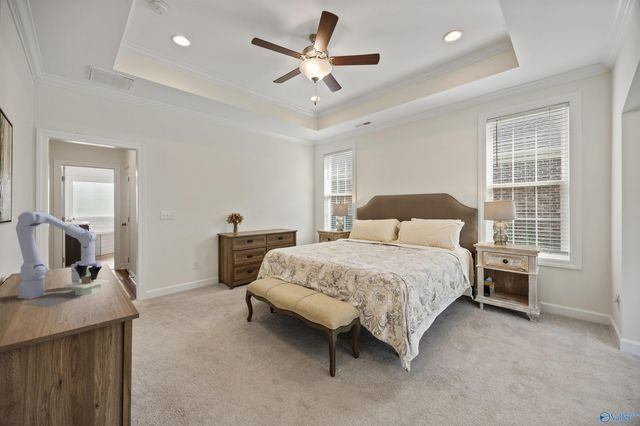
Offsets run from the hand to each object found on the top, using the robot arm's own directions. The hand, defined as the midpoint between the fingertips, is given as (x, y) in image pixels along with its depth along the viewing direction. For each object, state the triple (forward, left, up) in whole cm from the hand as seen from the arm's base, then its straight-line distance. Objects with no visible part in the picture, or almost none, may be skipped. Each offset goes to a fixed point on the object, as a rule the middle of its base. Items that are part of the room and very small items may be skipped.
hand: (88, 279), depth 141 cm
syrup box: (-12, +5, -8) cm, 15 cm away
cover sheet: (0, 0, -2) cm, 2 cm away
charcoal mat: (-3, -14, -7) cm, 16 cm away
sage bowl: (0, 0, -7) cm, 7 cm away
